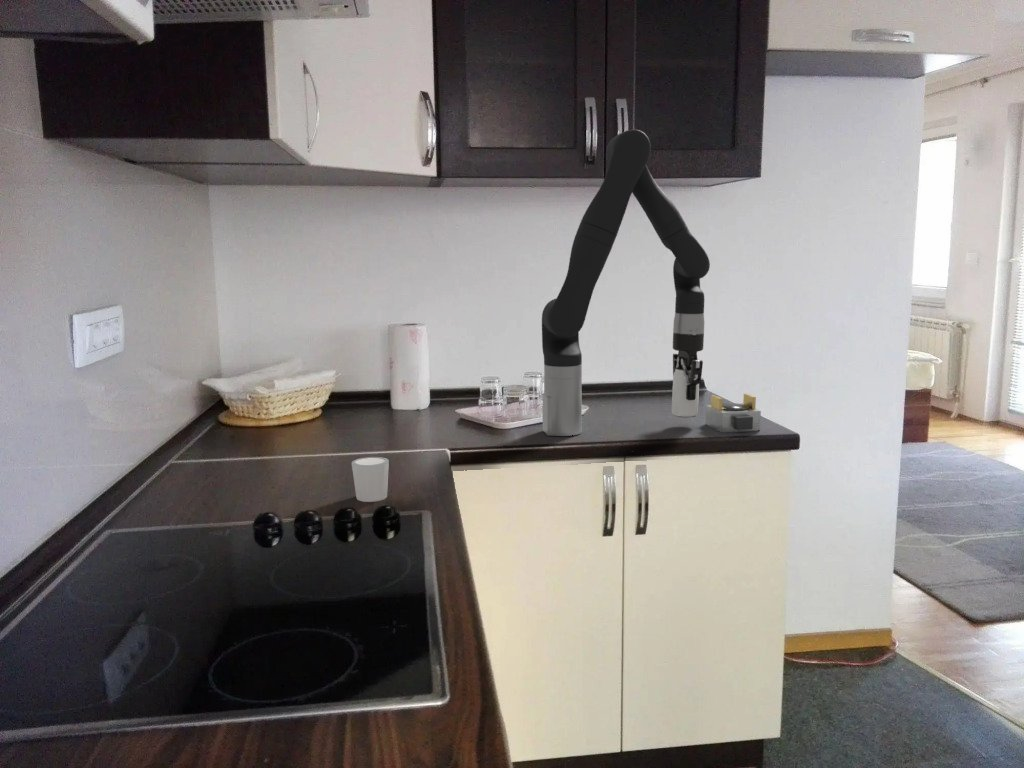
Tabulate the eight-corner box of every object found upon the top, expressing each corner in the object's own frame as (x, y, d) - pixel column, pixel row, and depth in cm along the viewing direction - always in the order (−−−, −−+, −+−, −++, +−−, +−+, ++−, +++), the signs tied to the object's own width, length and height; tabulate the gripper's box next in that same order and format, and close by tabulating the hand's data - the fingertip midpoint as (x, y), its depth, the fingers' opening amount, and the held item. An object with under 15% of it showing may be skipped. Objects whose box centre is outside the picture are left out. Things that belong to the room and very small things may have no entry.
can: (699, 418, 200) (702, 370, 198) (673, 417, 200) (676, 370, 198) (694, 412, 207) (696, 366, 205) (669, 412, 207) (671, 366, 205)
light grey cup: (379, 489, 155) (378, 454, 154) (397, 498, 149) (395, 461, 148) (347, 496, 151) (345, 460, 150) (363, 505, 145) (361, 468, 144)
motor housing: (725, 434, 195) (726, 402, 194) (705, 423, 207) (706, 393, 206) (763, 432, 197) (765, 400, 196) (741, 422, 209) (742, 391, 207)
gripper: (664, 328, 206) (661, 392, 209) (685, 334, 192) (682, 403, 195) (691, 328, 207) (688, 392, 210) (714, 334, 193) (711, 402, 196)
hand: (685, 397), depth 203 cm, fingers closed on can, 6 cm apart
